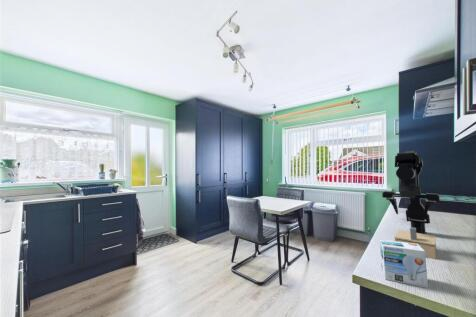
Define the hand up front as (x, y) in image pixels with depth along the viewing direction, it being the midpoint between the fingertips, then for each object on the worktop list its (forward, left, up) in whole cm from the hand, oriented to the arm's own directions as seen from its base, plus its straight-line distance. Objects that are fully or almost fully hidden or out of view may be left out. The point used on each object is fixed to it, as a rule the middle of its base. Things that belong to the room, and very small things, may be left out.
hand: (410, 215), depth 85 cm
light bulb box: (+32, 0, -15) cm, 35 cm away
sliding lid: (+1, +1, -9) cm, 9 cm away
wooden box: (+1, +1, -14) cm, 14 cm away
